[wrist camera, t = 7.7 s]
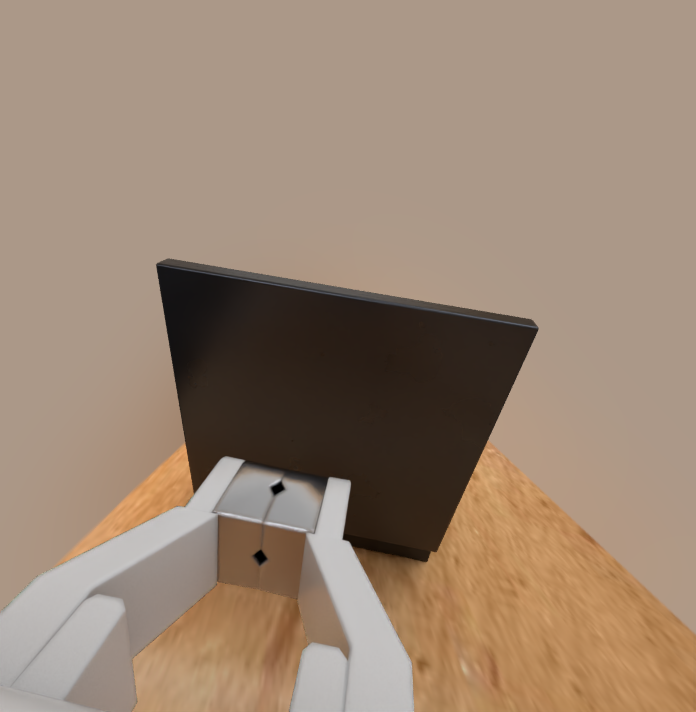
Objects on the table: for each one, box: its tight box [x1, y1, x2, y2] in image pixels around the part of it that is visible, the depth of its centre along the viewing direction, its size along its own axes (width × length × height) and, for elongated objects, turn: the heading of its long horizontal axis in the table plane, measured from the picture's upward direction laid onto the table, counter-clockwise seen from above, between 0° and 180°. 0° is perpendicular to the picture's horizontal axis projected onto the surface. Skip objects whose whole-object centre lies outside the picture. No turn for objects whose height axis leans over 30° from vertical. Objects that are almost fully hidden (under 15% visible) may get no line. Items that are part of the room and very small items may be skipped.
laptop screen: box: [156, 259, 538, 552], centre depth 16 cm, size 14×14×1 cm
